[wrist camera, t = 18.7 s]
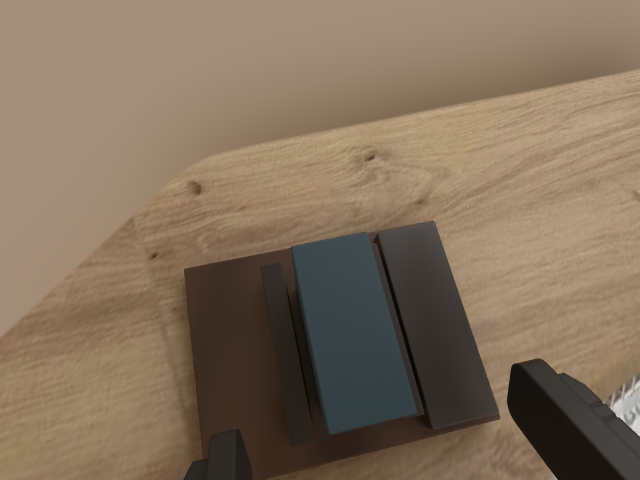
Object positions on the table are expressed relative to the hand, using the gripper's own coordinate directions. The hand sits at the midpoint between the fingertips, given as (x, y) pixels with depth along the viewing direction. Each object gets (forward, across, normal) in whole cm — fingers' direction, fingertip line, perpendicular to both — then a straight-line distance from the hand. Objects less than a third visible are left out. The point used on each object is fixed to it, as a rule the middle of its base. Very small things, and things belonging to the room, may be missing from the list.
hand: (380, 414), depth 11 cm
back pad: (+10, 0, +5) cm, 11 cm away
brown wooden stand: (+11, 0, +6) cm, 12 cm away
